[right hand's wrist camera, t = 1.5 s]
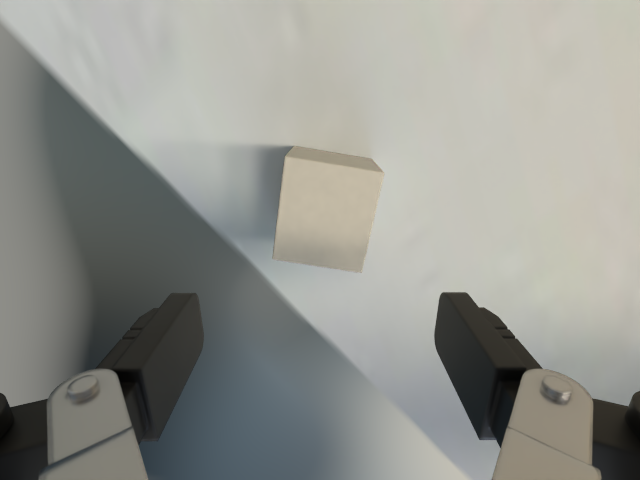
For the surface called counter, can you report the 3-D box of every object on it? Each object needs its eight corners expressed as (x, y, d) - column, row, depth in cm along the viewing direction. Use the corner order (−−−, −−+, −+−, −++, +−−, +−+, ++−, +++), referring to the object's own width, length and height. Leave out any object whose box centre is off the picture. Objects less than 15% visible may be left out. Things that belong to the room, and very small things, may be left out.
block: (282, 230, 20) (271, 260, 16) (293, 145, 18) (284, 155, 14) (355, 242, 20) (361, 273, 16) (372, 158, 18) (384, 172, 14)
